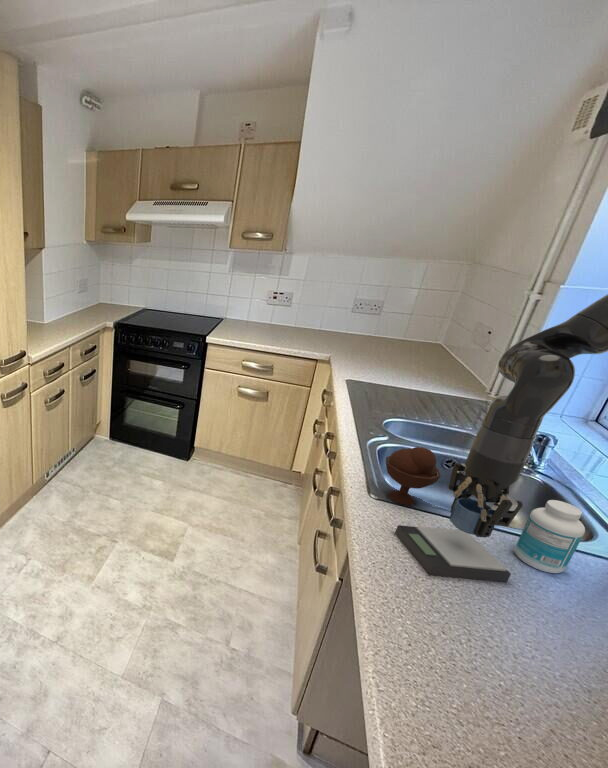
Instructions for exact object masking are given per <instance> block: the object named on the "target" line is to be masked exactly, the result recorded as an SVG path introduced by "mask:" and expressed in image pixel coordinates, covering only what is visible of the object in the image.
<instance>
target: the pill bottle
mask: <svg viewBox="0 0 608 768" xmlns="http://www.w3.org/2000/svg"><path fill="white" fill-rule="evenodd" d="M582 516H583V511H582V510H581V509H579V507H577V506H575V505H573V504H570V503H568V502H566V501H561V500H558V499H557V500H556V499H549V500H547V501H546V503H545V505H544V507H537V508H534V509H532V511H531V512H530V514H529V516H528V518H527V520H526V522H525V524H524V527H523V528H522V531H521V533H520V536H519V538H518V540H517V542H516V544H515V546H514V553H515V555H516V557H518V558H519V560H521V561H522V562H524V563H525V564H526V565H528V566H530V567H532V568H534V569H536V570H539V571H541V572H545V573H550V574H561V573H563V572H564V571H566V569H567V567H568V565H569V563H570V561H571V559H572V557H573V556H574V554H575V552H576V550H577V548H578V546H579V544H580V542H581V541H582V539H583V536H584V535H585V532H586V527H585V526H584V523H583V522H582V521H580V519H581V517H582Z"/></svg>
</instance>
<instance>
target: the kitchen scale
mask: <svg viewBox="0 0 608 768" xmlns="http://www.w3.org/2000/svg"><path fill="white" fill-rule="evenodd" d="M394 534H395V535H396V536H397V538H398V539H399V540H400V541H401V542H402V543H403V545H404V546H405V548H406V549H407V550H408V551H409V552H410V554H411V555H412V556H413V557H414V559H416V560H417V562H418V563H420V565H421V566H422V568H423V569H424V571H426V573H427V574H428V575H429V576H435V577H436V576H437V577H446V578H447V577H448V578H458V579H467V580H468V579H469V580H478V581H489V582H496V583H497V582H498V583H508V581H509V579H510V577H511V575H512V573H511V572H510V571H509V570H508V569H507V567H505V566H504V565H503V564H502V563H501V562H500V561H499V560H498V559H497V558H495V556H493V554H492V553H490V552H489V550H487V549H486V548H485V547H484V546H483V545H482V544H481V543H480V542H478V541H477V539H475V537H473V536H472V534H468V533H465V532H463V531H461V530H459V529H450V528H439V527H430V526H429V527H428V526H427V527H426V526H412V525H411V526H410V525H397V526H396V529H395V532H394Z"/></svg>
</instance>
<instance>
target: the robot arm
mask: <svg viewBox="0 0 608 768" xmlns="http://www.w3.org/2000/svg"><path fill="white" fill-rule="evenodd" d="M604 353H608V294H606V295H604V296H602V297H601V298H600V297H599V299H597V300H596V301H594V302H592V303H591V304H589V305H588V306H586V307H585V308H583V309H582V310H580V311H578V312H577V313H576V314H574V315H573V316H571V317H569V318H567V320H565V321H562V322H561V323H559V324H556V325H553V326H551V327H548V328H546V329H544V330H542V331H540V332H537V333H535V334H533V335H530V336H528V337H526V338H524V339H522V340H521V341H519V342H516V343H515V344H513V345H511V346H510V347H509V348H508V349H507V350H506V351H504V353H502V355H501V356H500V357H499V360H498V363H497V369H498V371H499V373H500V374H501V375H502V376H503V377H504V378H505V379H507V380H509V381H510V382H512V383H514V385H513V387H512V389H511V390H510V392H509V393H508V395H500V396H497V397H495V398H494V399H493V400H492V402H491V403H490V405H489V407H488V409H487V412H486V415H485V417H484V419H483V422H482V424H481V426H480V428H479V429H478V431H477V433H476V435H475V438H474V440H473V442H472V445H471V447H470V450H469V453H468V455H467V458H466V460H465V462H464V463H461V462H454V464H453V467H452V471H451V474H450V478H449V483H448V489H449V491H452V492H453V497H454V499H453V501H452V503H451V506H450V513H451V512H452V510H453V507H454V505H455V502H456V500H457V499H458V498H462V497H463V498H470V499H472V498H473V496H474V497H475V498H476V500H477V501H478V507H479V508H480V509H481V519H479V521H478V523H477V525H476V528H475V530H474V532H473V533H474V534H475V535H474V536H475V537H477V538H485V539H486V538H489V537H490V536H491V535H492V533H493V530H494V529H495V527H496V526H497V527H509V526H510V524H511V523H512V521H513V520H514V519H515V517H516V516H517V514H518V513H519V511H521V509H522V508H523V501H521V500H517V499H516V500H515V499H514V498H512V496H510V486H511V485H512V484H514V483H516V482H517V481H519V478H520V476H521V474H522V471H523V469H524V468H525V465H526V463H527V460H528V458H529V457H530V454H531V452H532V449H533V445H534V440H535V438H536V436H537V434H538V431H539V428H540V427H541V424H543V423H542V422H543V420H544V417H545V416H546V415H547V414H548V413H549V412H550V411H551V410H552V409H553V408H554V407H555V406H556V405H557V403H559V401H560V400H561V399H562V398H563V397H564V396H565V395H566V394H567V392H568V391H569V390H570V388H571V386H572V384H573V383H574V380H575V376H576V366H575V364H574V362H573V361H572V360H571V359H572V358H575V357H577V356H580V355H581V356H582V355H601V354H604ZM458 481H459V484H457V483H458ZM487 503H490V504H487ZM491 503H493V504H491ZM489 510H492V516H489Z"/></svg>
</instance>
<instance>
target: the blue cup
mask: <svg viewBox="0 0 608 768" xmlns="http://www.w3.org/2000/svg"><path fill="white" fill-rule="evenodd" d="M489 516H492V510H489ZM479 519H481V509H480V508H479V507H478V499H475V498H463V497H462V498H458V499H457V500H456V502H455V505H454V507H453V510H452V512H450V515H449V521H450V522H451V523H452V525H453V526H454V527H455V528H456V529H457V530H461V531H463V532H465V533H468V534H470V535H471V536H472V535H473V536H476V535H475V534H474V533H473V532H474V530H475V528H476V525H477V523H478V521H479Z"/></svg>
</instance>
